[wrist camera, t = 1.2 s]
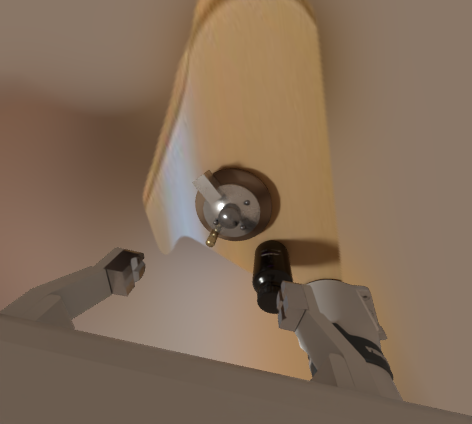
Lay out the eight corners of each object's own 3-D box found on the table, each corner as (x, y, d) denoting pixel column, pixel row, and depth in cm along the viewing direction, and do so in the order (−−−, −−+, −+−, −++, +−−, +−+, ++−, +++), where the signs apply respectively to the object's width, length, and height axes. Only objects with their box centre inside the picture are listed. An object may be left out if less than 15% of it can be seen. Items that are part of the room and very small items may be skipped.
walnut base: (285, 215, 33) (289, 230, 29) (227, 247, 39) (222, 265, 34) (241, 151, 30) (237, 156, 25) (183, 196, 35) (170, 208, 30)
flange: (271, 217, 32) (272, 227, 29) (227, 241, 36) (224, 253, 32) (226, 155, 28) (221, 159, 25) (183, 189, 32) (174, 197, 29)
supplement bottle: (272, 233, 36) (276, 280, 25) (295, 254, 37) (307, 307, 26) (247, 251, 38) (241, 300, 28) (269, 270, 40) (272, 324, 29)
